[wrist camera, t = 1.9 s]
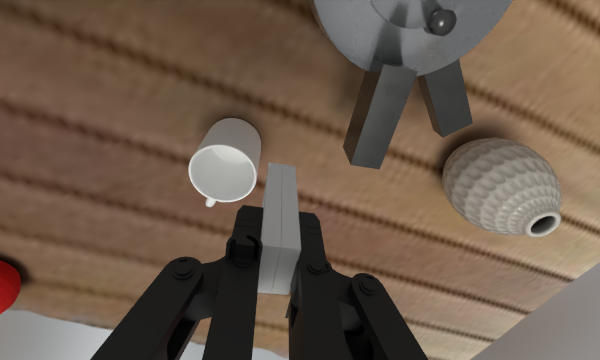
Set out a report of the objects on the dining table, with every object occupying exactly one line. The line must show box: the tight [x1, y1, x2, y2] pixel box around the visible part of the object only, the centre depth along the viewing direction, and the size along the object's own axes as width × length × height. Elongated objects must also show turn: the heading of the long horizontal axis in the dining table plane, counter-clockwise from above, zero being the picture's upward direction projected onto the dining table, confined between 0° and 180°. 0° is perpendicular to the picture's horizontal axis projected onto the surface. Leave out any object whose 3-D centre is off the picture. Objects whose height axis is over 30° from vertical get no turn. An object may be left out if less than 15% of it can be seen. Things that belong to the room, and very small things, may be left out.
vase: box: [442, 138, 562, 237], centre depth 40 cm, size 13×13×17 cm
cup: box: [189, 118, 261, 207], centre depth 40 cm, size 8×12×10 cm
